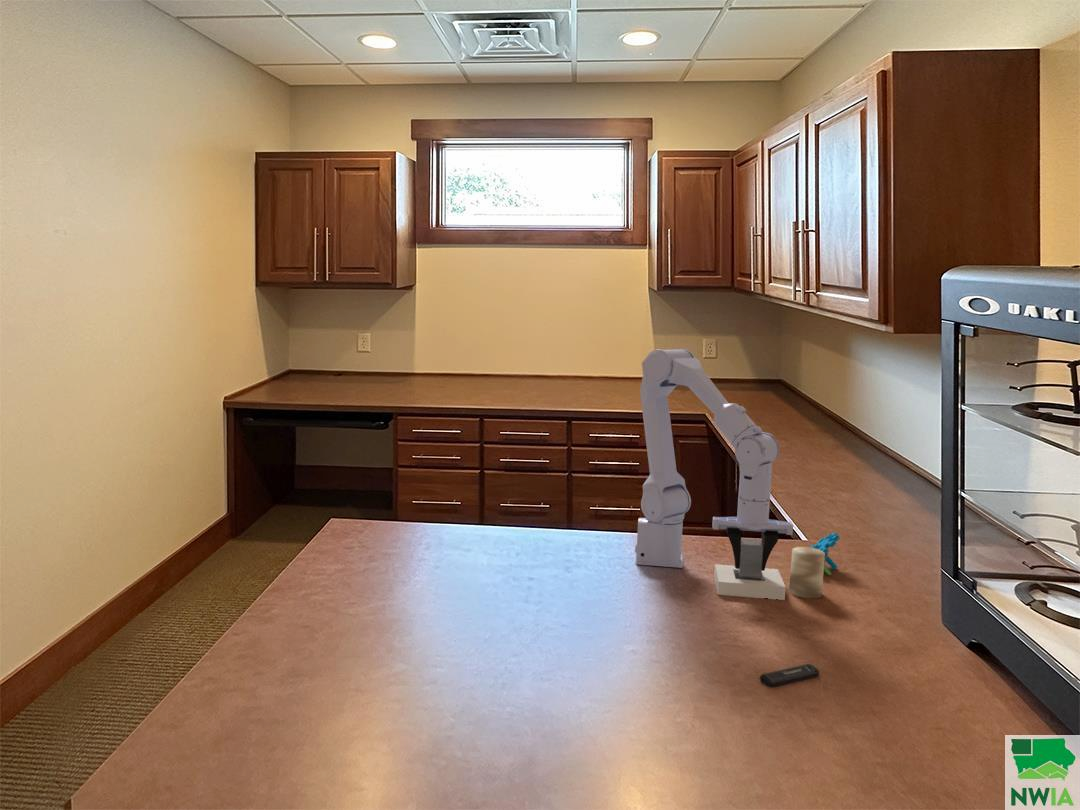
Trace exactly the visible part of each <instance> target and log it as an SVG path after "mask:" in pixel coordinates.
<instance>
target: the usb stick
mask: <svg viewBox="0 0 1080 810" xmlns="http://www.w3.org/2000/svg"><path fill="white" fill-rule="evenodd" d="M819 675H820V670H819V669H818V668H817V667H815V666H814V665H813V664H810V663H807V664H801V665H798V666H794V667H790V668H784V669H781V670H776V671H772V672H767V673H763V674H761V675H760V676H759V679H760V682H761V683H762V684H763V685H765V686H767V687H769V688H776V687H778V686H779V687H780V686H785V685H789V684H792V683H797V682H800V681H805V680H808V679H813V678H818V676H819Z"/></svg>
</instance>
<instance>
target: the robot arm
mask: <svg viewBox="0 0 1080 810" xmlns="http://www.w3.org/2000/svg"><path fill="white" fill-rule="evenodd" d="M641 367H642V378H641V384H640V388H639V394H640V395H639V396H640V403H641V404H640V405H641V410H642V411H641V412H642V418H643V419H642V420H643V425H644V426H643V427H644V436H645V444H646V451H647V453H646V454H647V459H648V470H649V475H648V477H647V478H646V479H645V481H644V483H643V484H642V497H641V500H640V506H641V507H640V508H641V511H642V513H643V515H644V516H645V517H639V518H638V520H637V535H636V536H637V537H636V543H635V546H634V547H635V548H634V553H636V556H635V559H636V560H635V564H636V565H640V566H651V567H652V566H654V567H655V566H656V567H667V568H677V569H678V568H679V569H681V568H682V569H683V567H684V560H683V554H682V544H683V543H682V542H683V527H684V526H683V524H684V522H683V521H684V519H685V514H686V513H687V512H688V511H689V510H690V508H691V505H692V499H691V495H690V492H689V491H688V489H687V485H686V479H685V478H684V477H683V476H682V475H681V474H680V473H679V472H678V471H677V463H676V455H675V448H674V437H673V432H672V431H673V429H672V424H671V423H672V421H671V416H670V415H671V414H670V413H671V412H670V405H669V396H670V394H671V393H672V392H673V391H674V390H675V388H676V387H677V386H683V387H684V386H686V387H687V388H689V390H691V392H693V394H694V395H695V396H696V397H697V398H698V399H699V400H700V401H701V402H702V403H703V405H705V406H706V407H707V408H708V409H709V410H710V411H711V412H712V414H714V415H713V423H714V425H715V426H716V427H717V429H718V430H719V431H720V432H721V433H722V435H724V436H725V438H726V439H727V440H728V442H729V443H730V444H731V446H733V448H735V449H734V455H735V458H736V460H737V462H738V465H739V470H738V471H739V480H738V481H739V484H738V485H739V486H738V497H737V512H736V513H737V515H736V516H712V524H711V525H712V529H713V530H717V531H718V530H719V529H720V530H725V531H726V535H727V537H728V539H729V542H730V545H731V548H732V553H733V558H734V559H733V561H734V566H735V568H736V569H739V565H740V544H741V538H742V535H741V531H746V532H747V531H748V532H758V533H759V532H761V542H762V544H763V556H762V571H765V568H766V565H767V562H768V560H769V557H770V556H771V555H770V554H771V553H772V551H773V549H774V547H775V545H777V543H778V541H779V537H780V536H779V534H785V535H788V536H792V535H793V532H794V524H793V523H792V522H791V521H783V520H777V519H770V517H769V516H770V504H771V503H770V502H771V489H772V475H773V462H774V461H776V460H777V458H778V456H779V453H780V446H779V442H778V441H777V439H776V438H775V436H774V435H773V434H772V433H770V432H764V431H763V429H762V427H760V425H758V426H757V425H756V423H754V421H753V420H752V419H751V418H750V417H749V416H748V414H747V413H746V412H747V409H746V408H745V406H744V405H741V406H740V405H739V404H738V403H734V402H733V403H732V402H731V403H729V402H728V400H727V399H726V398H725V397H724V396H723V394H722V393H721V391H720V390H719V389H718V388H717V386H716V385H715V384H714V382H713V381H712V380H711V378H710V377H709V376H708V374H707V372H705V370H704V369H703V367H702V363H701V361H700V360H699V358H697V357H695V355H694V353H693V352H692V351H691V350H689V349H687V348H678V349H658V348H657V349H654V350H651V351H650V352H649V353H648V354H647V356H646V357H645V359H643V361H641Z"/></svg>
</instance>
